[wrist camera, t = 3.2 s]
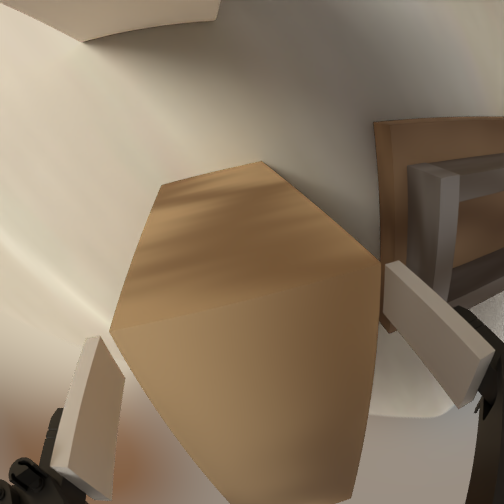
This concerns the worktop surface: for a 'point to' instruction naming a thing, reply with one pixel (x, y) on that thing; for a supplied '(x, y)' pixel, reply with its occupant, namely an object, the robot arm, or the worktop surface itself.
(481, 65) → the worktop surface
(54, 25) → the milk
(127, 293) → the tan wooden block
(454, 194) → the wooden tray
